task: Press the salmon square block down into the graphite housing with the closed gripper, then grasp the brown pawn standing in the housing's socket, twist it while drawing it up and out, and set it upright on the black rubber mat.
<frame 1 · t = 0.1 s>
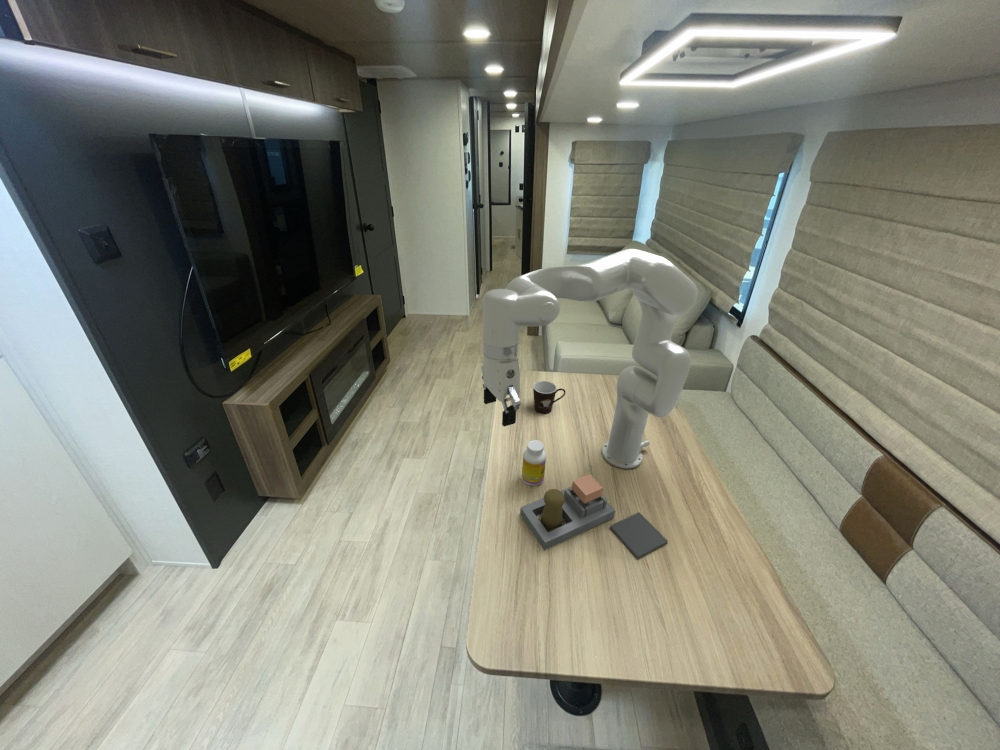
hand: (499, 412, 93), 31 cm above the table, tool pointing down, fingers open, 9 cm apart
brown pawn: (551, 523, 104), resting in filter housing
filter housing: (566, 516, 106), on the table
salmon square block: (587, 488, 104), point 8 cm above the table, slide at 0.0 cm
rubber mat: (638, 535, 101), on the table
supplement bottle: (532, 478, 117), on the table
coffee mug: (546, 410, 148), on the table
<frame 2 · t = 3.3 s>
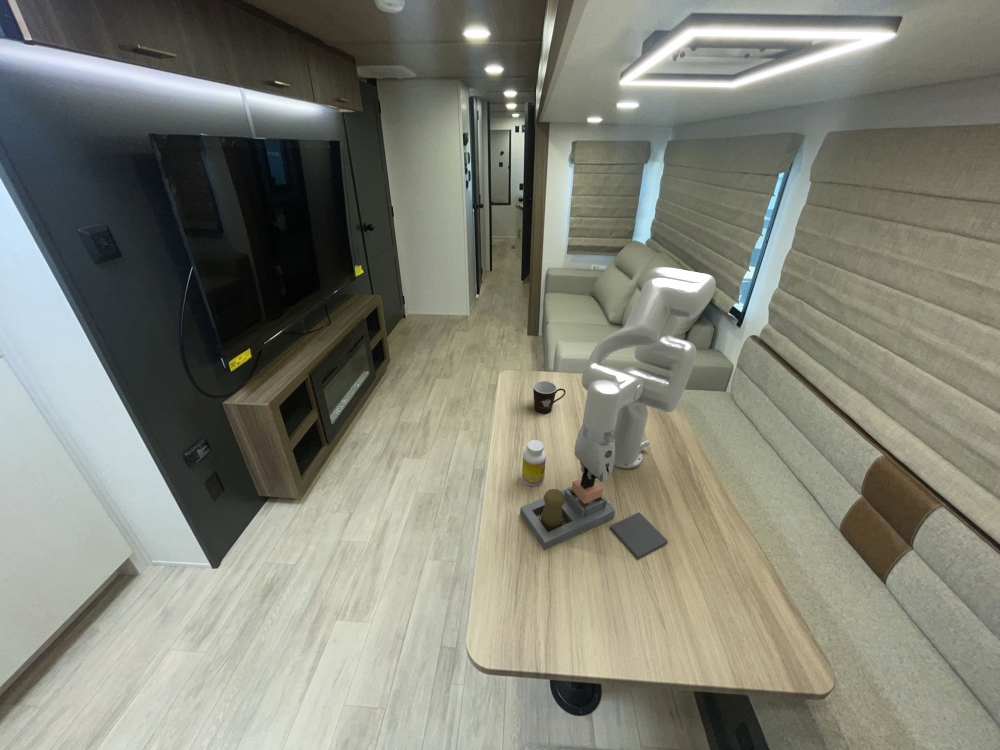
hand: (587, 485, 103), 9 cm above the table, tool pointing down, fingers closed
salmon square block: (587, 488, 104), point 8 cm above the table, slide at 0.2 cm, touching gripper
everything else where it was.
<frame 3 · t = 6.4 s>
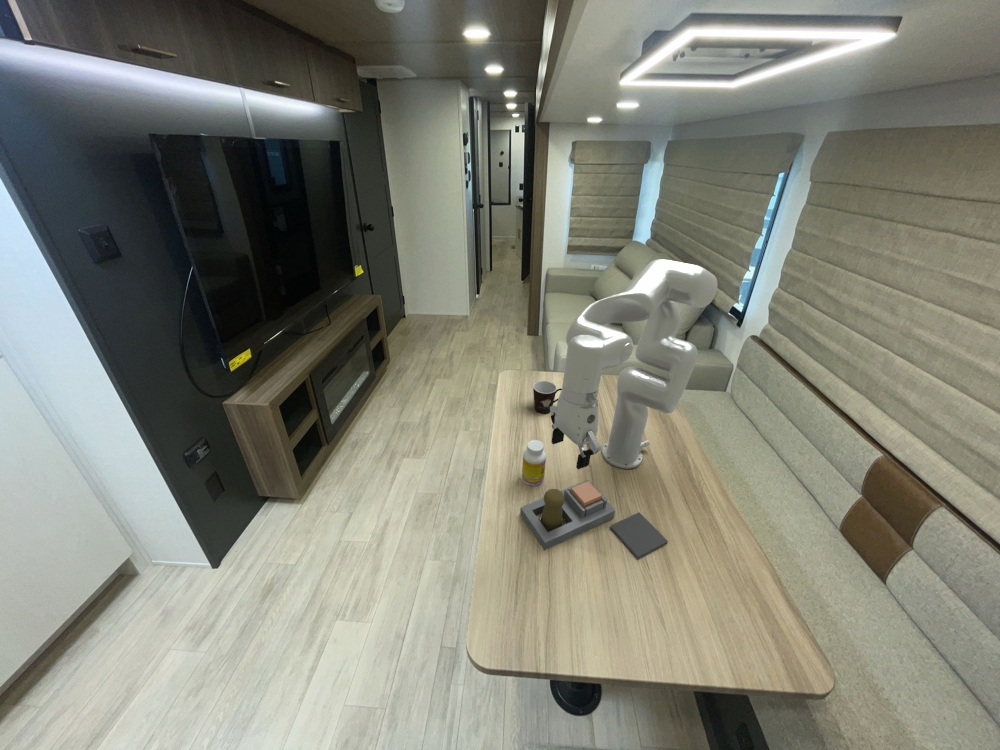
hand: (569, 454, 92), 23 cm above the table, tool pointing down, fingers open, 9 cm apart
salmon square block: (585, 495, 105), point 5 cm above the table, slide at 2.7 cm
everything else where it was.
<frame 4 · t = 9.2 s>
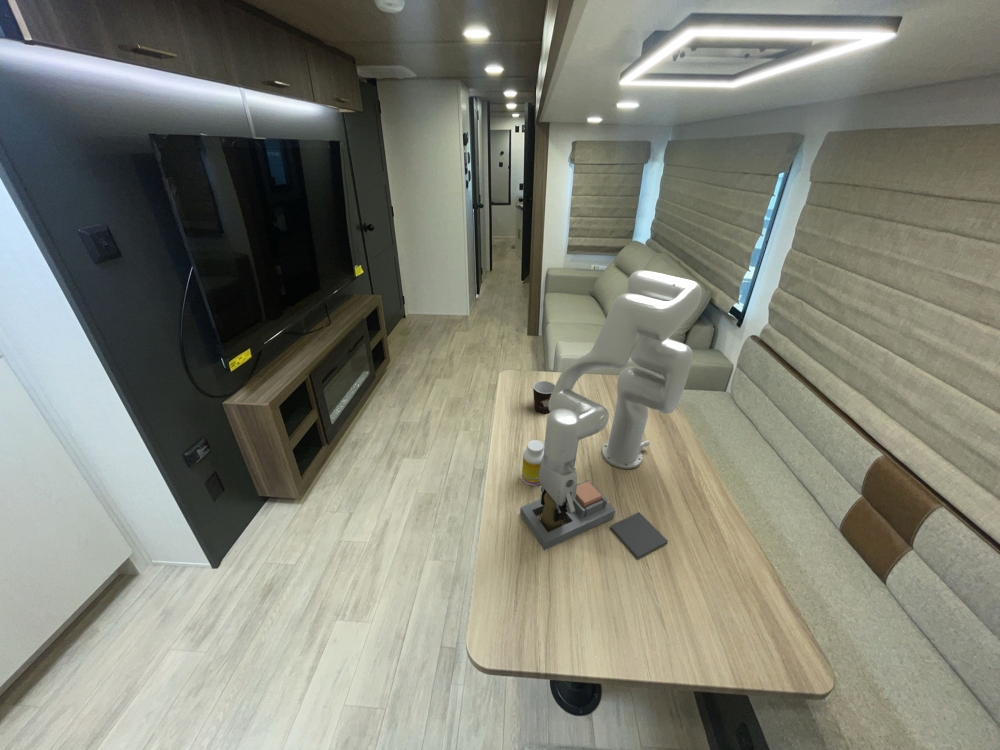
hand: (552, 510, 101), 5 cm above the table, tool pointing down, fingers closed on brown pawn, 5 cm apart
brown pawn: (551, 523, 104), resting in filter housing, touching gripper
everything else where it was.
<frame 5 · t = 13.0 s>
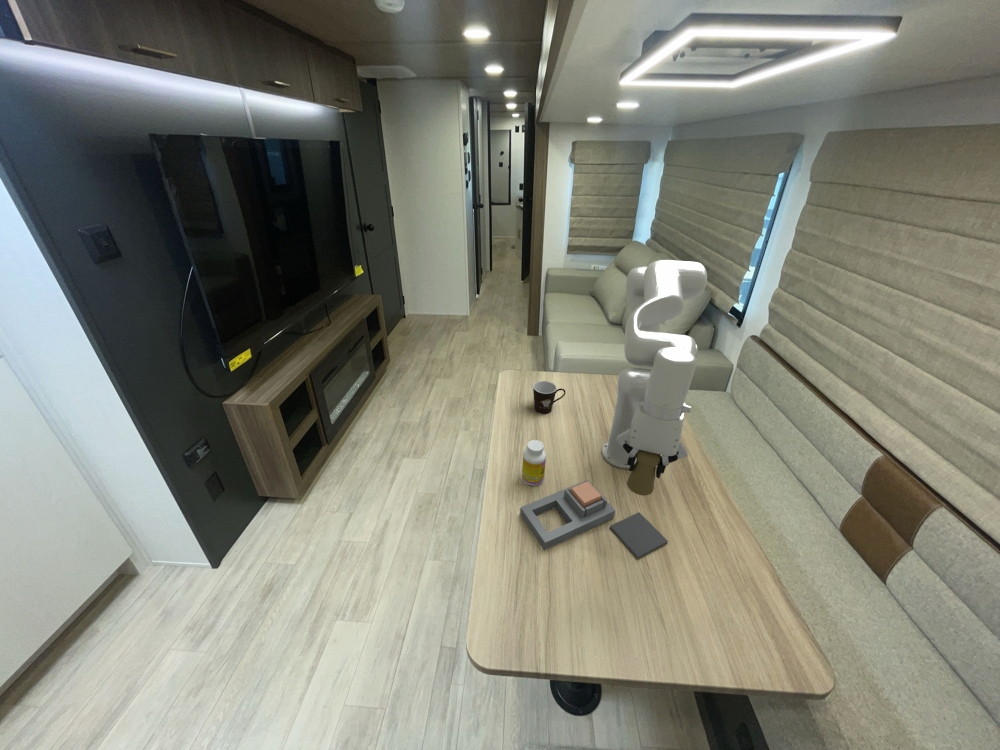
hand: (644, 469, 90), 22 cm above the table, tool pointing down, fingers closed on brown pawn, 5 cm apart
brown pawn: (639, 486, 93), point 17 cm above the table, touching gripper
everything else where it was.
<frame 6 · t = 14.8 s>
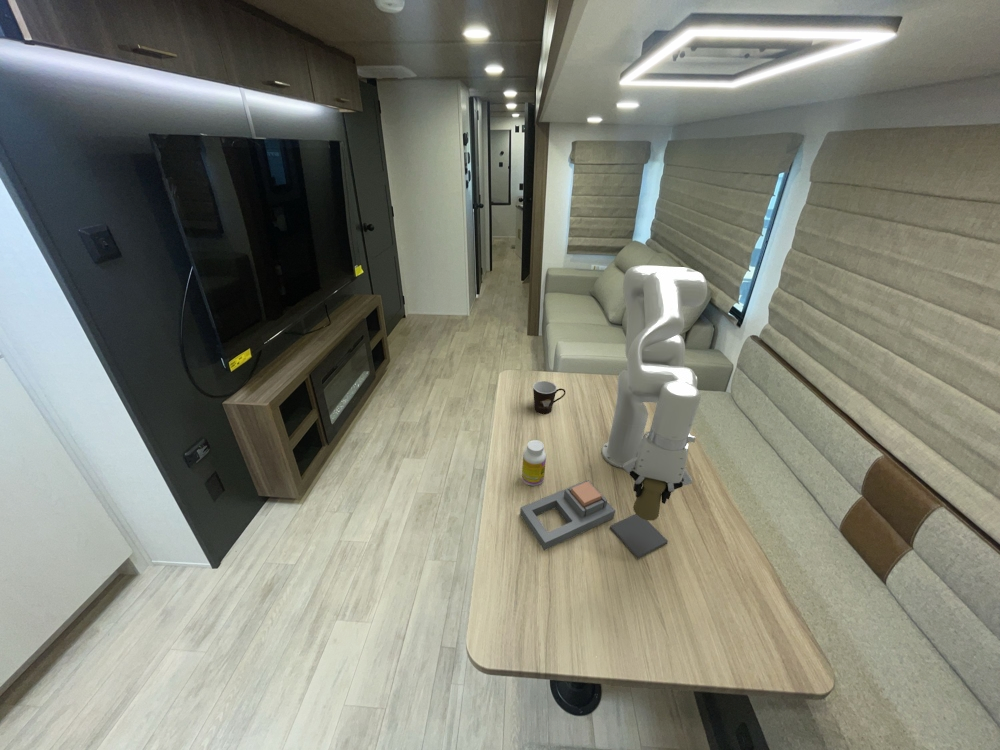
hand: (650, 495, 93), 15 cm above the table, tool pointing down, fingers closed on brown pawn, 5 cm apart
brown pawn: (645, 510, 96), point 9 cm above the table, touching gripper
everything else where it was.
when the fingers open (7 cm above the table, at t = 16.6 s): brown pawn drops 1 cm, resting on rubber mat.
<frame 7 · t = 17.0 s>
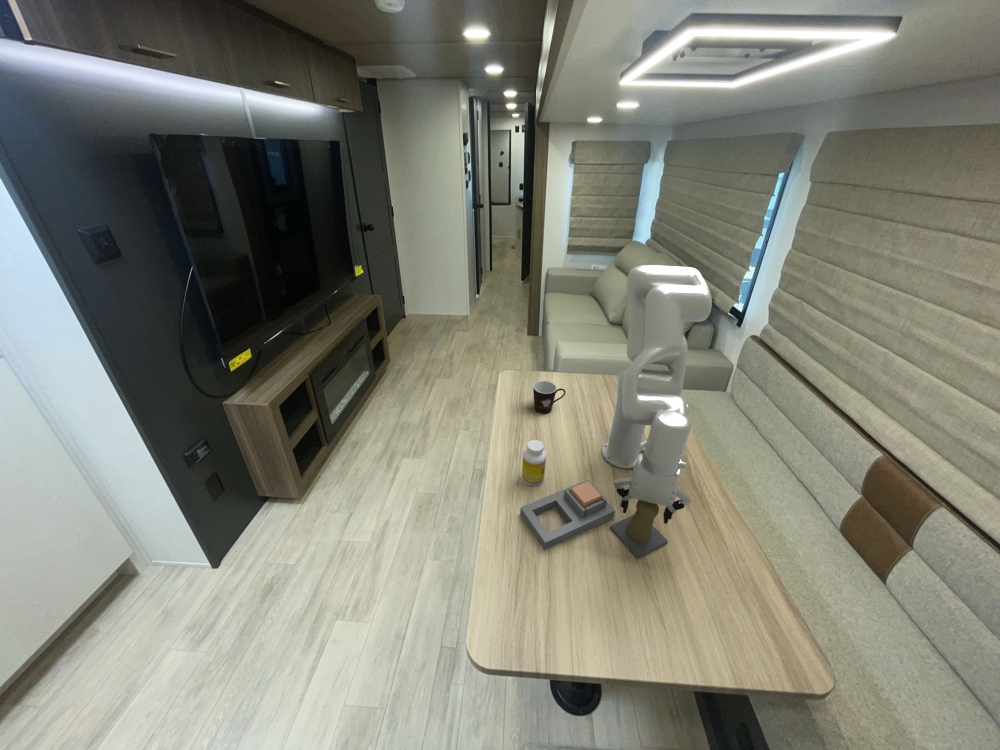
hand: (644, 513, 97), 8 cm above the table, tool pointing down, fingers open, 9 cm apart
brown pawn: (638, 533, 101), point 1 cm above the table, touching rubber mat
everything else where it was.
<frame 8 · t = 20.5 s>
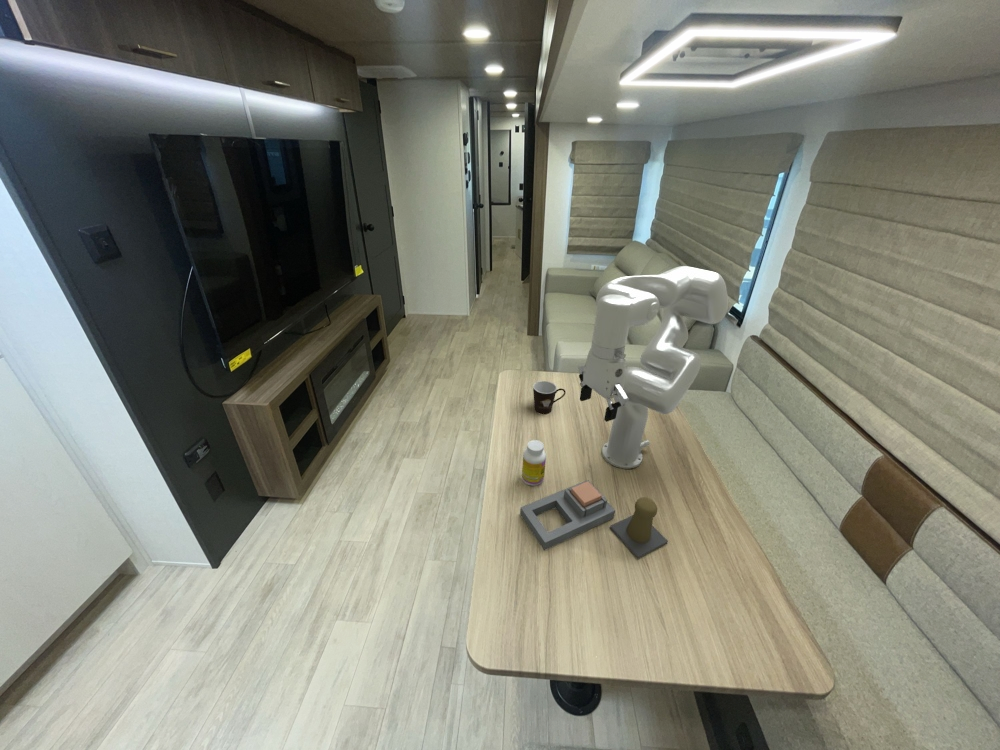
hand: (596, 409, 100), 28 cm above the table, tool pointing down, fingers open, 9 cm apart
nothing on the table moved.
at the end: salmon square block slide at 2.7 cm; brown pawn 0.1 cm off-centre on the rubber mat, point 0.6 cm above the rubber mat's base; brown pawn tilted 0° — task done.
